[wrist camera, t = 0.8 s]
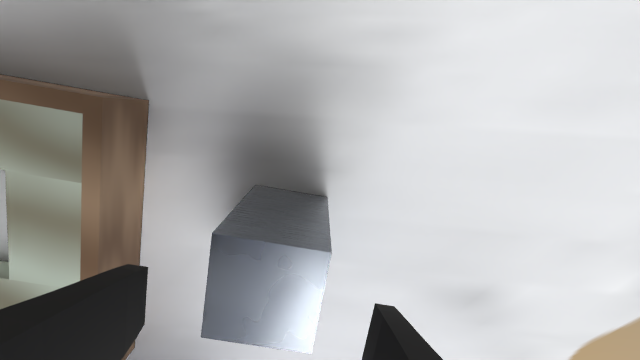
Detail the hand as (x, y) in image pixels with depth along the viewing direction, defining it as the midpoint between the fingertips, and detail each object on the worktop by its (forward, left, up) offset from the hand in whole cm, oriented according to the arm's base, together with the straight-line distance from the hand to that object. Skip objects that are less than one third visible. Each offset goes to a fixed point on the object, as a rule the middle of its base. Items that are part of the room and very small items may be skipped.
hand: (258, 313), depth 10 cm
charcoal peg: (0, 0, -8) cm, 8 cm away
